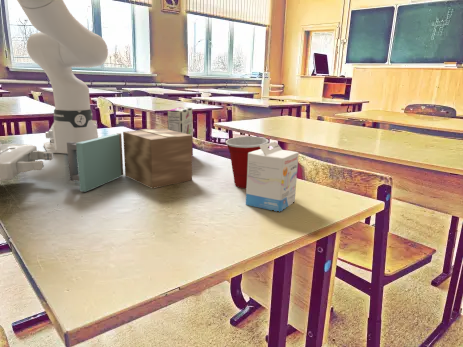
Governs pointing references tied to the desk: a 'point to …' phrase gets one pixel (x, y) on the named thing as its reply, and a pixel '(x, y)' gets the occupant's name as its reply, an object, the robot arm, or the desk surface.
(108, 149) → the flap
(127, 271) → the desk surface
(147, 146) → the carton
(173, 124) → the candy bar box
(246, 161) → the plastic cup
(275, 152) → the ink box
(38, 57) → the robot arm
